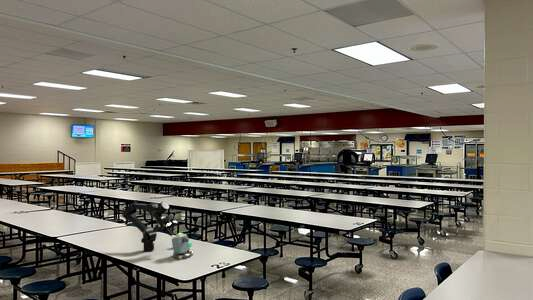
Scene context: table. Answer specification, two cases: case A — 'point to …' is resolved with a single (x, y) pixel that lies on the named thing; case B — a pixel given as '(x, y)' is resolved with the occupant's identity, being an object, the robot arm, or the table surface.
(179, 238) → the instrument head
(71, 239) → the table surface
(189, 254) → the tribrach base
